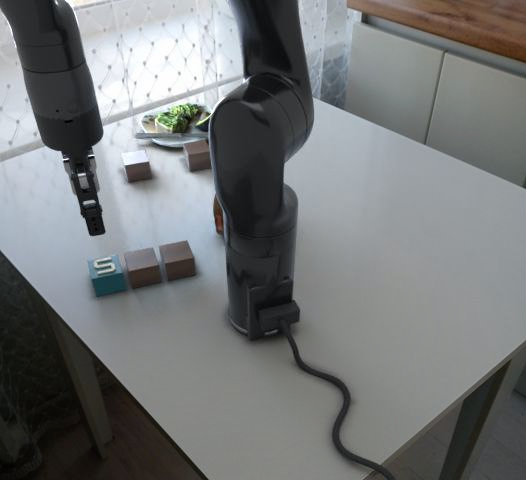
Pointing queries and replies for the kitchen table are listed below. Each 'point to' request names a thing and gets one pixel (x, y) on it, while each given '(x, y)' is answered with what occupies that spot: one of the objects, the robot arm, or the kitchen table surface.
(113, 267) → the letter S
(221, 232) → the tin
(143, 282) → the brown wooden block pair
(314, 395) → the kitchen table surface
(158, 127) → the salad plate
